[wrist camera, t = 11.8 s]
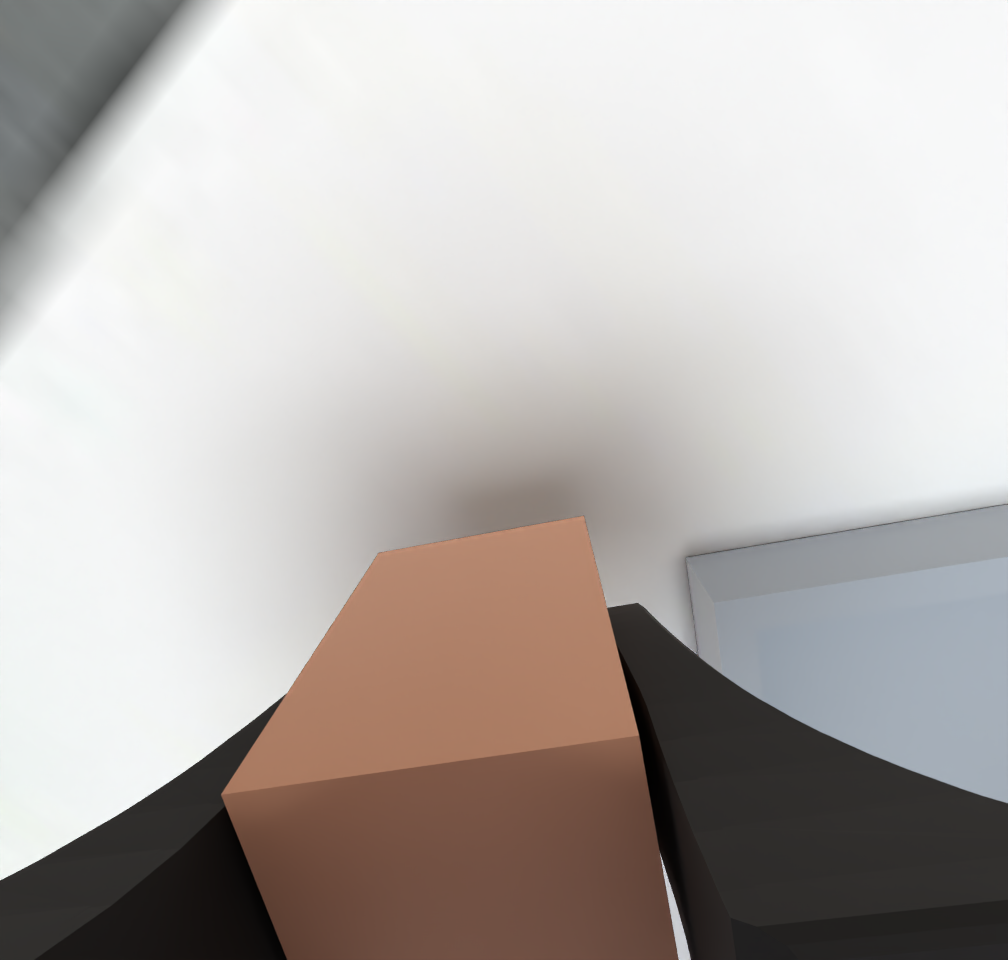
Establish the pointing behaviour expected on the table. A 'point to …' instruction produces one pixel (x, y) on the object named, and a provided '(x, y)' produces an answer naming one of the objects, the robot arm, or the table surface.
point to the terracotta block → (460, 768)
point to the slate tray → (875, 638)
